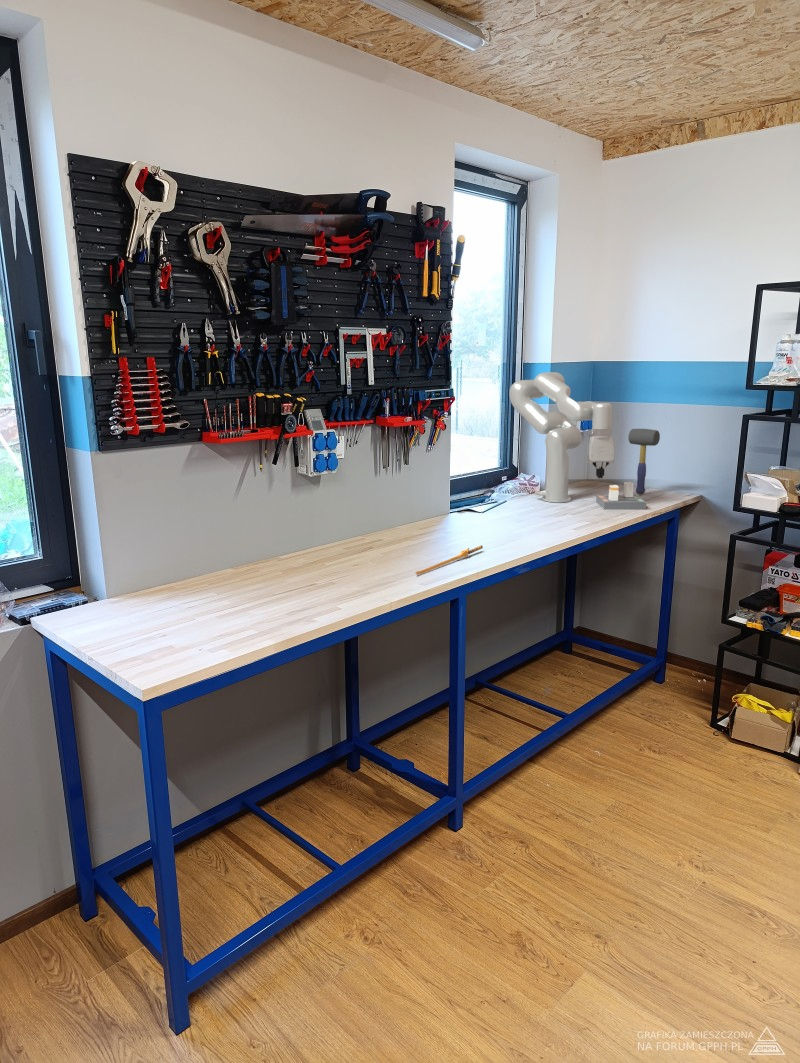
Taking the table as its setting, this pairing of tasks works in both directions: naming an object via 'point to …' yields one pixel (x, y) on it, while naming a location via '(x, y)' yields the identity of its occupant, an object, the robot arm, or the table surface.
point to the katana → (450, 560)
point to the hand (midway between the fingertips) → (599, 477)
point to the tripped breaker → (613, 492)
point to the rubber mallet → (643, 452)
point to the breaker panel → (622, 500)
